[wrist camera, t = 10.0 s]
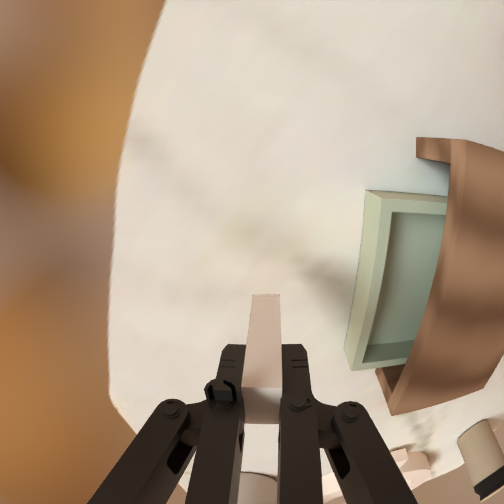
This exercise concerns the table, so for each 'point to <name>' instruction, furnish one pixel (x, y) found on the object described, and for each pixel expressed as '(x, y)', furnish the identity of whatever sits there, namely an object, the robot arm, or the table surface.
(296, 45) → the table surface
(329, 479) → the ring with crossbar
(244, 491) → the cylinder vase
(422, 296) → the green tray
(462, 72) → the table surface
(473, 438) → the travel mug
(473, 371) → the walnut overhang
